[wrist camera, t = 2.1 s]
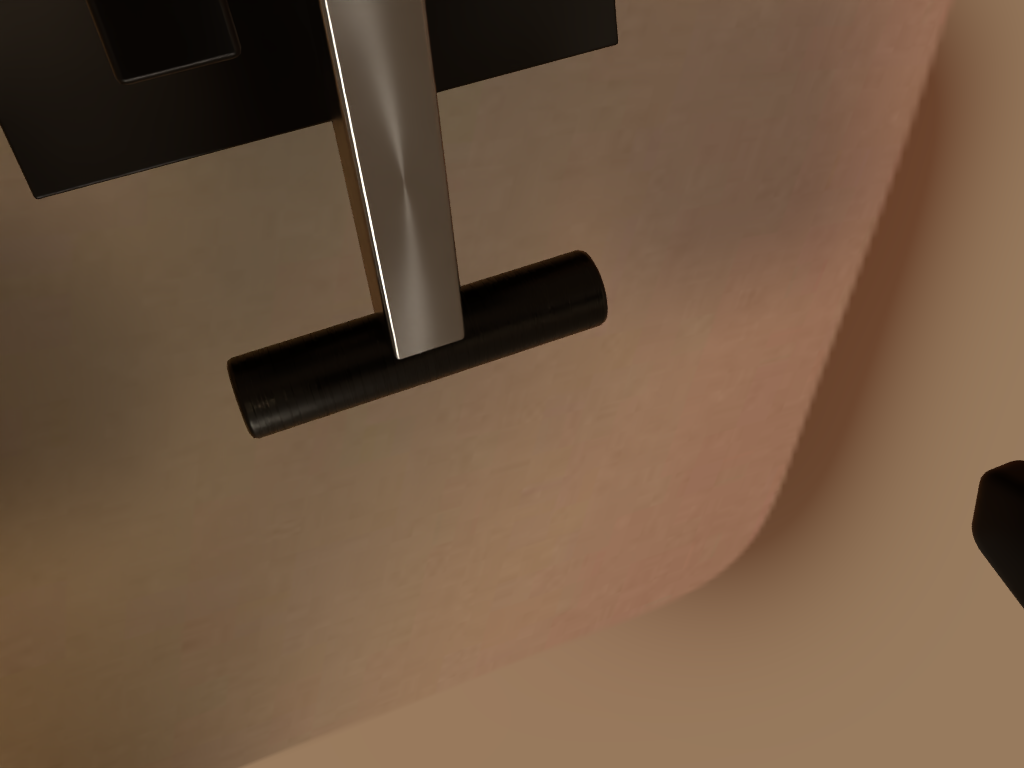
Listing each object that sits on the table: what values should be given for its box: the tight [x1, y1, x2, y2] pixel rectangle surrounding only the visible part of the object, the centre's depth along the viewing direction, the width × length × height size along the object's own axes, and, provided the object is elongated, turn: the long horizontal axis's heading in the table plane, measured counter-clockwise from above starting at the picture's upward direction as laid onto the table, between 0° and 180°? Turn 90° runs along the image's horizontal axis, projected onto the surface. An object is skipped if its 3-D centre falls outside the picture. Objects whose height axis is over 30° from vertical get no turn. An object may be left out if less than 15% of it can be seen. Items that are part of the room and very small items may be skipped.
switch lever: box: [227, 0, 608, 438], centre depth 11 cm, size 10×6×2 cm, turn 9°
